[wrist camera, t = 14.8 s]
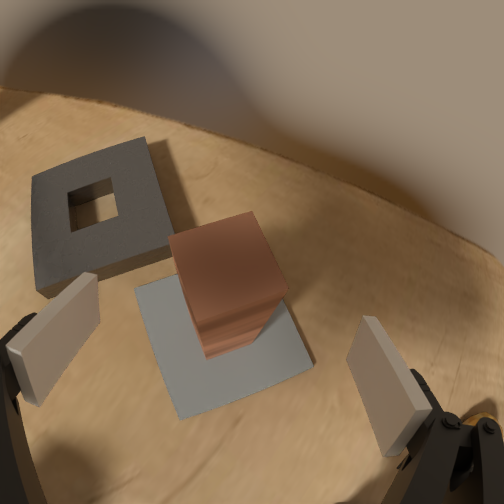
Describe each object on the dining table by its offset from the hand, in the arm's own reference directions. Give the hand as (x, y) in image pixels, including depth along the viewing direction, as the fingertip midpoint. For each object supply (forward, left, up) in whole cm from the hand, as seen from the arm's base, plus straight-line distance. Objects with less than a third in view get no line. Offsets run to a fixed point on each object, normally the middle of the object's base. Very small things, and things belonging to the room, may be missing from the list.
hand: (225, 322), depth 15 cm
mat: (-2, +1, -12) cm, 12 cm away
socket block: (-17, -7, -12) cm, 22 cm away
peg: (-2, +1, -12) cm, 12 cm away
